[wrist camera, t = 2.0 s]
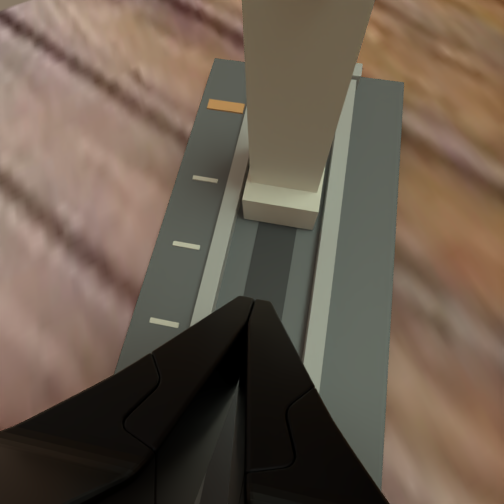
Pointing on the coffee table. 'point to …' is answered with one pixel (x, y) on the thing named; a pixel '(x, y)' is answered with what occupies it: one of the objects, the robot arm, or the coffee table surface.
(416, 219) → the coffee table surface
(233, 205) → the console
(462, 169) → the coffee table surface
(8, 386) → the coffee table surface
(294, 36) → the fader knob
